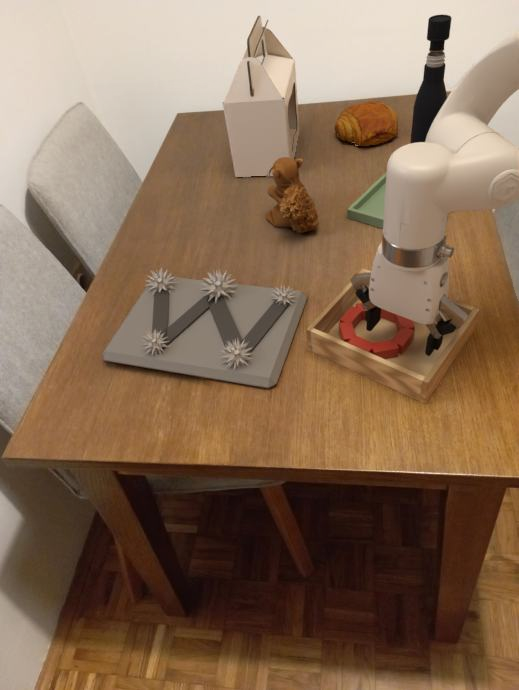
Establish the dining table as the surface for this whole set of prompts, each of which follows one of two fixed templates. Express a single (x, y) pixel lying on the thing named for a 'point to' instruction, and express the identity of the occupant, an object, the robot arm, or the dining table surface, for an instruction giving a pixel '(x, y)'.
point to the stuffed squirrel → (290, 198)
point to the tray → (370, 205)
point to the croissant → (367, 123)
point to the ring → (383, 347)
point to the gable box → (262, 105)
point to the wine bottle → (431, 79)
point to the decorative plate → (209, 329)
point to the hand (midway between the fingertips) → (401, 337)
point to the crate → (408, 368)
